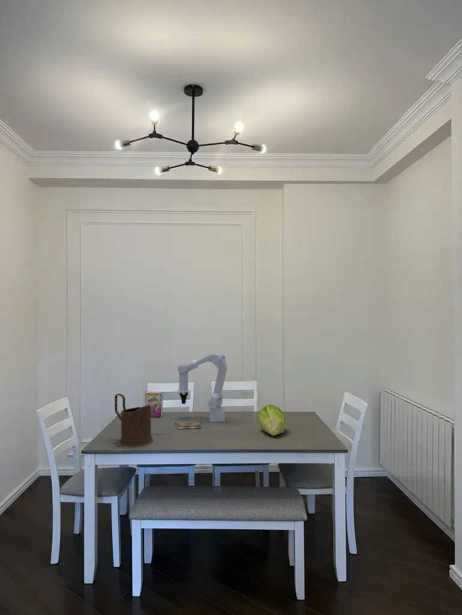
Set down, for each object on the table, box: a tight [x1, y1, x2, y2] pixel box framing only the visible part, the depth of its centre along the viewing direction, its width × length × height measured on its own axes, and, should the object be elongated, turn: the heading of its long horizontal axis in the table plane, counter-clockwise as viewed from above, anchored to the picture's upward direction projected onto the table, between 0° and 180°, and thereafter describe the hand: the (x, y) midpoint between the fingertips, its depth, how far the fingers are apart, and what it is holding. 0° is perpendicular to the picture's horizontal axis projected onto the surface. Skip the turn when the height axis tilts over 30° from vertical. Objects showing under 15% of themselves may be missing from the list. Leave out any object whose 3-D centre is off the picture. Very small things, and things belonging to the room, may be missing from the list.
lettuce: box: [257, 404, 287, 436], centre depth 279 cm, size 15×25×16 cm
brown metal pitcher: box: [114, 393, 154, 447], centre depth 264 cm, size 18×24×25 cm
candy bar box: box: [144, 391, 164, 418], centre depth 324 cm, size 11×5×16 cm, turn 84°
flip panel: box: [176, 422, 202, 430], centre depth 291 cm, size 14×1×12 cm
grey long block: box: [174, 420, 204, 426], centre depth 296 cm, size 17×2×3 cm, turn 96°
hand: (183, 403), depth 314 cm, fingers closed
